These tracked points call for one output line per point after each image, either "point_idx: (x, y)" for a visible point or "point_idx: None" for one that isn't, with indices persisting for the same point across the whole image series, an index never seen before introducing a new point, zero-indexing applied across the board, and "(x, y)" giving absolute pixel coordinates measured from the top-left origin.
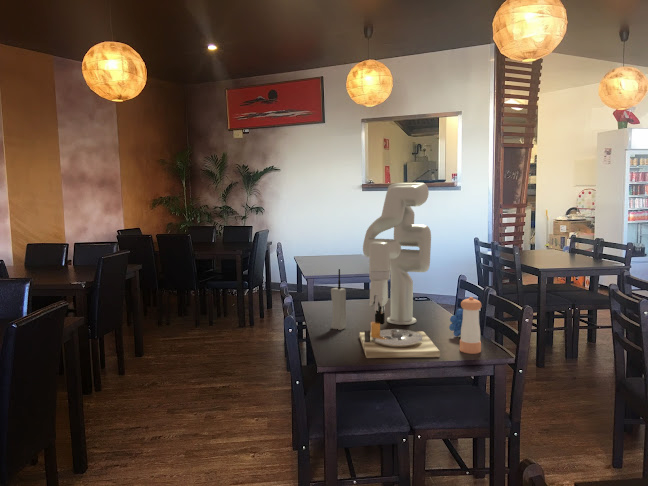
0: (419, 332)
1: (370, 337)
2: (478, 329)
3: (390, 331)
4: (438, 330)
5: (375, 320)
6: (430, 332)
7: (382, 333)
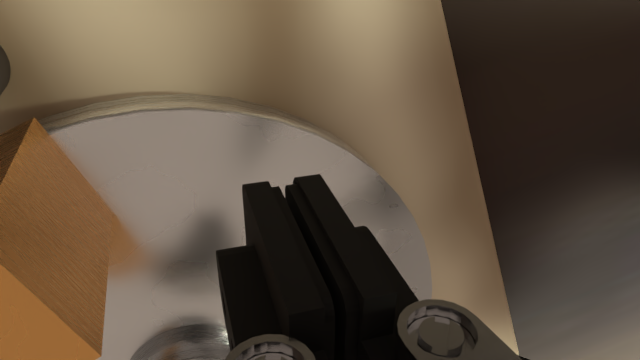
0: None
1: (187, 37)
2: None
3: None
4: (622, 336)
5: (252, 215)
6: (583, 321)
7: (206, 220)
